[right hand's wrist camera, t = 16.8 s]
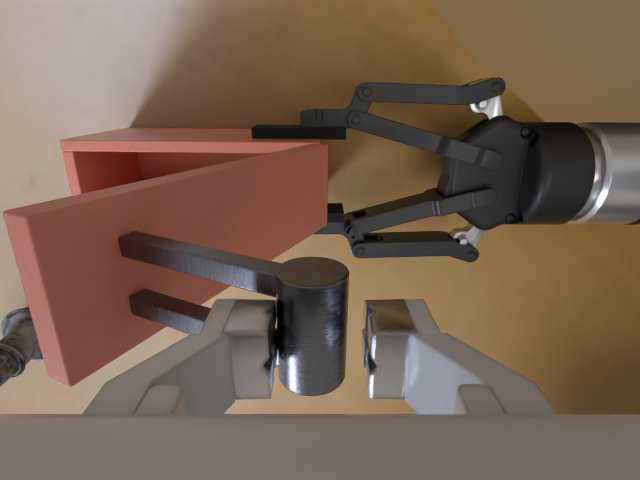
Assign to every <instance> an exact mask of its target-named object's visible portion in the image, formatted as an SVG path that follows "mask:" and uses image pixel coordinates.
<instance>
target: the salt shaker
mask: <svg viewBox="0 0 640 480" xmlns="http://www.w3.org/2000/svg"><path fill="white" fill-rule="evenodd" d="M1 329H2V336H3V339H2V340H0V387H1V386H2V385H3V384H4V383H5V382H6V381H7V380H8V379H9V378H10V377H16V376H18V375H20V374H21V373H22V372H23V371H24V369H25V365H26V364H27V363H28V362H29V361H30V360H37V361H43V360H44V359H43V356H42V352H41V348H40V345H39V341H38V338H37V334H36V331H35V327H34V323H33V320H32V316H31V313H30V309H29V307H26V308H22V309H17V310H14V311H12V312H11V313H9V314H8V315H7V316H6V317H5V318H4V320H3V322H2V327H1Z"/></svg>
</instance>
